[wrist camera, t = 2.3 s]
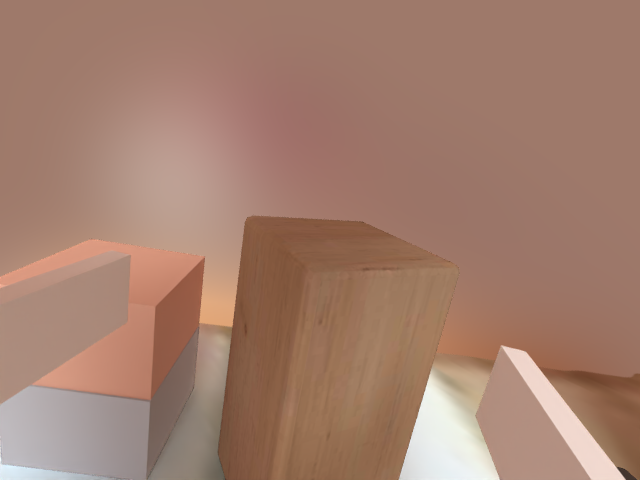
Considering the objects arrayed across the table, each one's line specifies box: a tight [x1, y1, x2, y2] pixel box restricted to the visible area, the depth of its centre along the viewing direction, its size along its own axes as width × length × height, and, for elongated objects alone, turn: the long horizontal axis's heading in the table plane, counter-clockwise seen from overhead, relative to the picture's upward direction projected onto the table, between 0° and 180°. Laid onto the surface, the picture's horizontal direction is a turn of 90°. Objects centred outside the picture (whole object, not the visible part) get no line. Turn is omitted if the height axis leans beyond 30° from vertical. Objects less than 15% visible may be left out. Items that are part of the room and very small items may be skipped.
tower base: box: [0, 326, 199, 480], centre depth 28 cm, size 10×10×7 cm
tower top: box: [0, 239, 205, 400], centre depth 27 cm, size 10×10×7 cm
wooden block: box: [218, 216, 459, 480], centre depth 24 cm, size 10×10×20 cm
